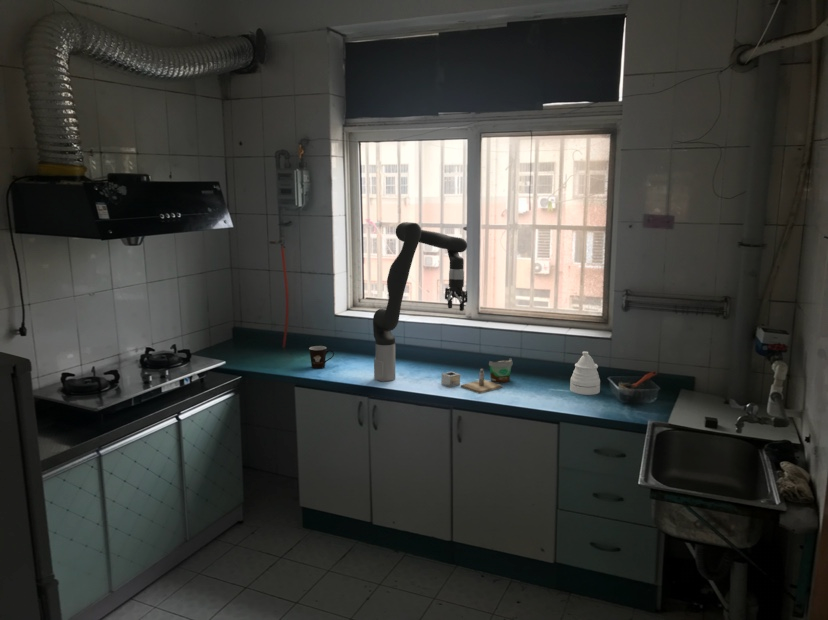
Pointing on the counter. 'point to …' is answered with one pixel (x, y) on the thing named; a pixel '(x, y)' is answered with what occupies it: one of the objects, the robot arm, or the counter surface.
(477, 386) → the block
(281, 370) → the counter surface
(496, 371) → the food container
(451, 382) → the grey square sleeve
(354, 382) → the counter surface
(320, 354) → the coffee mug
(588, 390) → the honey pot
